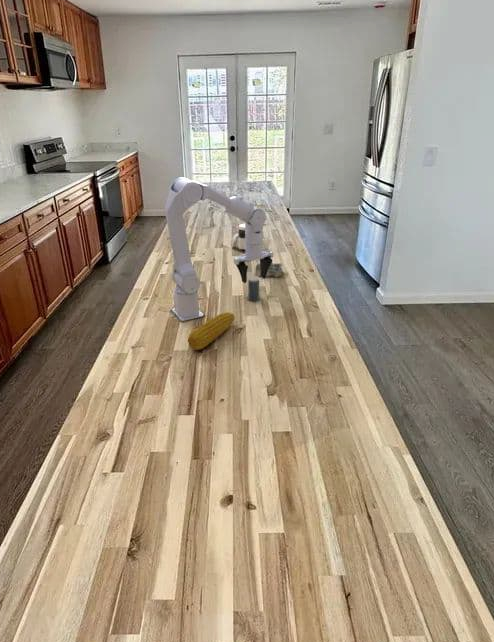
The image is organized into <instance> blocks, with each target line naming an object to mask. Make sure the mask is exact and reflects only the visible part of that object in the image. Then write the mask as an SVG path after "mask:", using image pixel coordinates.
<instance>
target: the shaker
mask: <svg viewBox="0 0 494 642" xmlns="http://www.w3.org/2000/svg"><path fill="white" fill-rule="evenodd" d="M247 299H248V301H250V302H258V301H260V280H259V278H258V277H256V276H251V277H249V278H248V279H247Z"/></svg>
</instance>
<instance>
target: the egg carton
mask: <svg viewBox="0 0 494 642" xmlns="http://www.w3.org/2000/svg"><path fill="white" fill-rule="evenodd" d="M282 267H283V263H282V262H280V263H279V262H278V263H273V262H272V263H271V265H270V267H269V269H268V271H267V274H266V277H275V278H278V277H282ZM254 269H255V276H258V277H261V265H260V262H258V263H257V264H256V265H255V268H254Z"/></svg>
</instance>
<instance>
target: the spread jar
mask: <svg viewBox="0 0 494 642" xmlns="http://www.w3.org/2000/svg"><path fill="white" fill-rule="evenodd" d="M237 245H238V246H237ZM230 247H231V248H233V249H234V248H236V247H237V248H238V250H239V251H240V252H242V253H243V252H244V253H245V222H243V223H241V224H239V225H238V232H236V233H235V234H234V235H233V237H232V238H231V240H230Z"/></svg>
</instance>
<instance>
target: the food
mask: <svg viewBox="0 0 494 642" xmlns="http://www.w3.org/2000/svg"><path fill="white" fill-rule="evenodd" d="M234 321H235V315H234V313H232V312H227V311H226V312H223V313H219V314H217V315H216V316H214V317H212V318H211V319H209V320H208V321H205V322H204V323H203V324H201V325H200V326H198V327H197V328H195V329H193V330H192V331H191V332H190V333H189V335H188V338H187V343H188V346H189V348H190V349H192V350H194V351H198V350H202V349H204V348H206V347H207V346H208V345H209V344H211V343H212V342H214V341H215V340H216V339H217V338H218V337H220V335H222V334H223V333H224V332H225V331H226V330H227V329H228V328H230V326H231V325H233V323H234Z"/></svg>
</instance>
